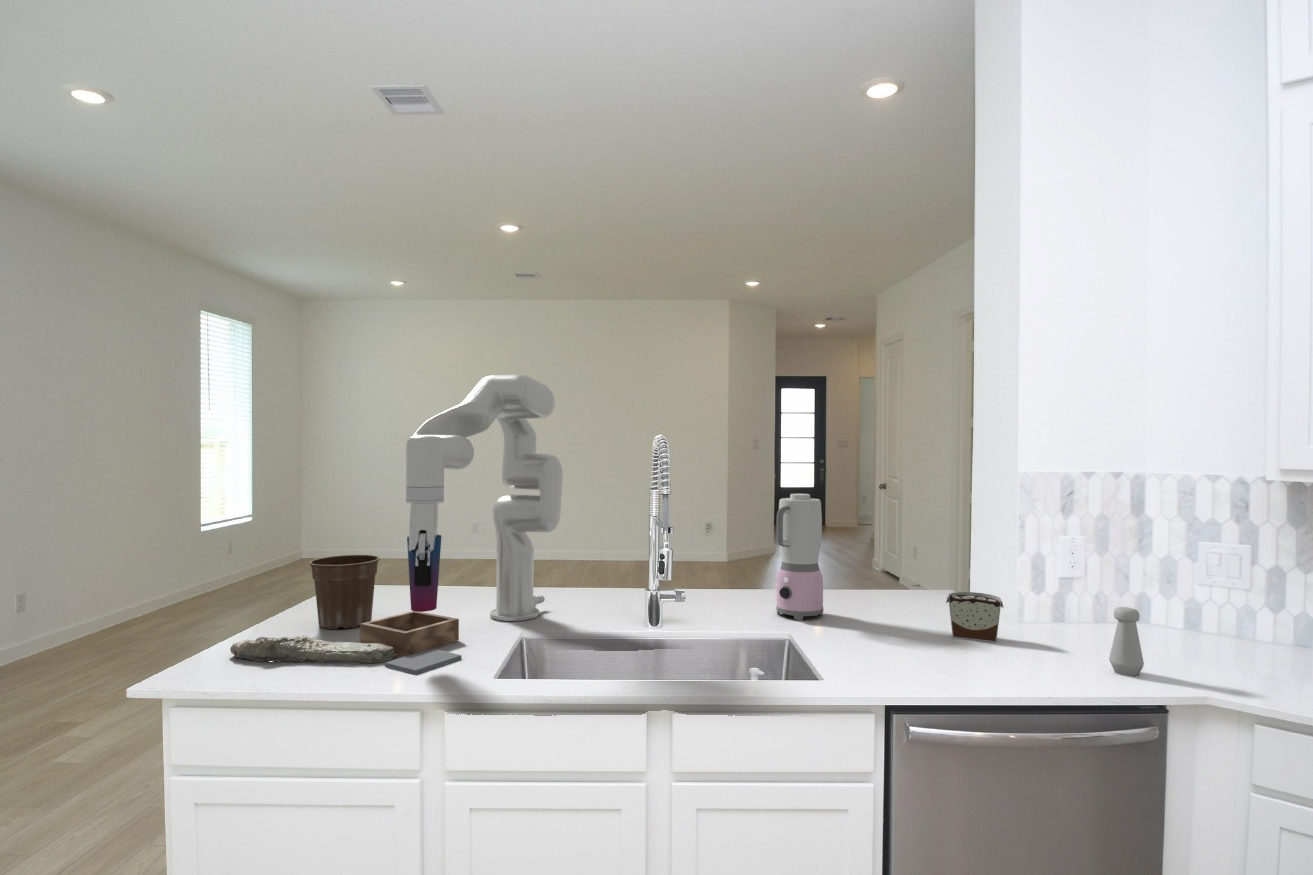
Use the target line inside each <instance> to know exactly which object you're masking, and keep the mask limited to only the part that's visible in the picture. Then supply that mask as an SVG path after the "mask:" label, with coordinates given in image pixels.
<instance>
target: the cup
mask: <svg viewBox="0 0 1313 875" xmlns="http://www.w3.org/2000/svg"><path fill="white" fill-rule="evenodd" d="M426 541H427V534H426ZM406 542H407V543H406V545H407V546H406V547H407V562H408V576H409V577H408V578H409V580H408V581H409V599H410V610H411V611H416V612H425V613H426V612H432V611H434V610H436V609H437V607H438V606H437V605H438V593H439V577H440V563H441V561H440V560H441V549H442V535H441V534H437V537H435V545H434V550H433V551H431V553H430V566H431V585H430V586H415V566H416V547H415V550H412V552H410V551H409V535H408V536H407V537H406ZM417 544H418V542H417ZM428 545H429V544H428ZM418 548H419V547H418ZM425 550H428V547H427V546H425Z"/></svg>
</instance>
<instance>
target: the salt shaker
mask: <svg viewBox="0 0 1313 875" xmlns="http://www.w3.org/2000/svg"><path fill="white" fill-rule="evenodd" d="M1113 617H1114V619H1115V620H1117V625H1116V627H1115V632H1114V637H1113V641H1112V645H1111V649H1110V654H1109V657H1108V659H1109V663H1110V664H1111V666H1112V668H1113V672H1114V673H1115V674H1118V675H1121V676H1124V677H1133V678H1134V677H1137V676H1139V675H1140V673H1141V671H1143V668H1144V665H1145V663H1144V658H1143V657H1144V656H1143V652H1142V647H1141V641H1140V637H1139V631H1138V627H1137V622H1139V620H1140V617H1141V616H1140V613H1139V611H1138V610H1137V609H1135V608H1133V607H1128V606H1127V607H1126V606H1119V607H1116V608H1114V610H1113Z"/></svg>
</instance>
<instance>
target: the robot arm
mask: <svg viewBox="0 0 1313 875" xmlns="http://www.w3.org/2000/svg"><path fill="white" fill-rule="evenodd" d="M554 408H555V396H554V393H553V392H552V390H551V389H550V387H549V386H547V385H546V384H544V383H542V382H540V381H539V380H536V379H535V378H533V377H530V376H528V375H524V374H491V375H486V376H485V377H482V378H481V379H480V380H479V381H478V383H477V384H476V385H475V386H474V387H473V388H472V390H471V391H470V392H469V393H468V394H467V395H466V397H465V398H464V399H463V400H462V401H461V403H460V404H458V405H455V406H453V407H450V408H449V409H447V410H444V411H443V412H441V413H438V414H436V415H434V416H432V417H431V418H429V419H427V420H425V422H423V423H422V424H421V425H420V426H419V427H418V429H416V431H415V432H414V433H413V434H412V436H409V437H408V439H407V440H406V444H405V446H406V449H405V503H406V504H410V510H409V511H410V512H409V525H408V526H409V529H408V531H409V533H408V536H409V551H410V552H412V550H415V547H416V566H415V586H430V585H431V566H430V553H431V551H433V550H434V545H435V537H437V535H438V520H439V519H438V518H439V516H438V515H439V504H440V503H441V504H442V503H444V502H445V470H449V471H454V470H455V471H457V470H463V469H465V468H466V467H468V466H469V465H470V464H471V463H472V461H473V459H474V455H475V451H474V450H475V449H474V446H473V444H472V442H471V440H470V439H468V438H470V437H472V436H475V435H476V436H477V435H479V434H481V433H485V431H487V430H488V429H490V427H491V426H492V424H493V423H494V421H495V420H497V422H498V423H499V425H500V427H501V430H502V433H503V450H502V464H501V465H502V468H501V480H502V483H503V484H502V485H504V487H507V488H508V489H511V490H522V491H523V490H526V491H538V492H539V495H535V494H534V495H533V494H532V495H531V494H506V495H502V496H500V497H499V498H498V499H496V501H495V502H494V504H493V508H492V518H493V524H494V529H495V540H496V596H495V598H496V600H495V601H496V604H495V607H496V608H495V609H493V610H492V609H491V611H490V613H489V616H490V618H491V619H493V620H496V621H501V620H502V622H503V621H505V622H518V621H520V622H521V621H526V620H532V619H535V618H537V617H539V615H540V610H539V608H537V607H536V606H537V605H538V604H542V603H544V602H545V600H546V599H545V597H544V595H542V594H541V595H538V596H536V595H534V572H535V571H534V562H535V561H534V560H535V559H534V558H535V556H534V549H535V548H534V544H533V542H532V540H531V539H530V536H529V535H528V533H553V531H555V530H556V529H557V528H558V526H559V523H560V519H561V518H560V517H561V510H562V509H561V508H562V490H563V468H562V464H561V461H560V459H559V458H558V457H557V456H556V455H554V454H551V453H537V434H536V431H535V429H534V427H533V426H532V424H531V422H529V420H528V419H546V418H547V417H550V416H551V414H552V413H553V412H554V410H555V409H554ZM426 534H427V541H426ZM417 542H418V544H417ZM428 544H429V545H428ZM425 546H427V547H428V550H425ZM418 547H419V548H418Z"/></svg>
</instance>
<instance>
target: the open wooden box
mask: <svg viewBox="0 0 1313 875" xmlns="http://www.w3.org/2000/svg"><path fill="white" fill-rule="evenodd" d="M459 630H460V619H459V618H456V617H451V616H445V615H441V614H437V613H436V614H434V613H429V612H426V611H425V612H416V611H412V610H411V611H407V612H404V613H400V614H399V613H398V614H395V615H391V616H387V617H383V618H379V619H374V620H371V621H369V622H365V623H361V624H360V627H359V643H380V644H383V645H386V646H391V647H393V648H394V651H395V654H396V655H395V656H398V657H399V656H400V657H406V656H409V655H412V654H416V653H419V652H422V651H425V650H429V649H437V648H440V647H442V645H443V646H445V645H446V646H447V645H449V644H451V643H452V642H453V643H456V642H459V641H460V640H459V636H460V635H459V634H460V631H459ZM458 640H459V641H458ZM453 643H452V644H453Z"/></svg>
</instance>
